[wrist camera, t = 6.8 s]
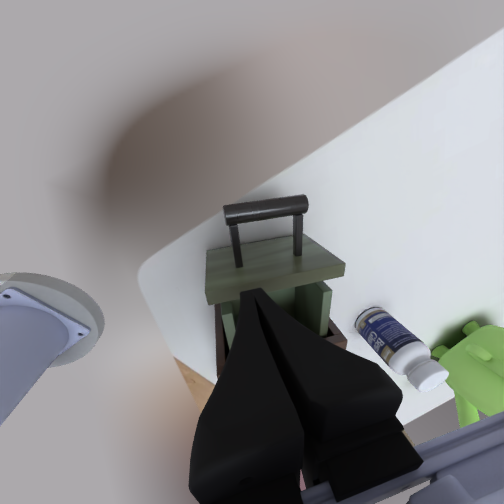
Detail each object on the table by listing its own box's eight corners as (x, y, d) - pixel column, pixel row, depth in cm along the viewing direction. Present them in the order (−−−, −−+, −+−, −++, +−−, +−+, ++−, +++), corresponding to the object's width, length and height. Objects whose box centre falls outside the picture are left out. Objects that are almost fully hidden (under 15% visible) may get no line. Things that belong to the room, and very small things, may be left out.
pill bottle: (352, 316, 29) (413, 381, 20) (383, 301, 29) (458, 359, 20) (356, 336, 31) (412, 402, 22) (384, 322, 31) (452, 383, 22)
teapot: (388, 369, 38) (490, 486, 24) (479, 298, 34) (667, 391, 20) (429, 393, 49) (517, 484, 35) (502, 341, 44) (637, 422, 30)
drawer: (194, 200, 16) (185, 220, 10) (305, 185, 17) (356, 195, 11) (226, 337, 24) (232, 395, 18) (301, 318, 25) (330, 366, 19)
